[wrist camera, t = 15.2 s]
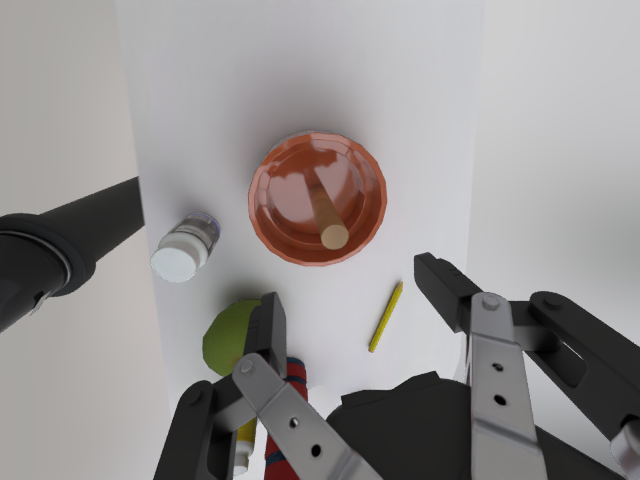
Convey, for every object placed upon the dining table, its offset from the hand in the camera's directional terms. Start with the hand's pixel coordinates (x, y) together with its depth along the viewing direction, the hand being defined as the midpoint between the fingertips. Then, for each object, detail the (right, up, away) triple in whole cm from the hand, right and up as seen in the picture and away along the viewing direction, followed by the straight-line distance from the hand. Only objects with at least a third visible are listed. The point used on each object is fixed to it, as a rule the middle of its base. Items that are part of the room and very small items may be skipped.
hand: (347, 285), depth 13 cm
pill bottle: (-17, +4, +16) cm, 24 cm away
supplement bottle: (-17, -33, +36) cm, 52 cm away
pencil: (+10, -11, +28) cm, 32 cm away
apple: (-12, -8, +24) cm, 28 cm away
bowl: (-2, +9, +16) cm, 18 cm away
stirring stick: (-2, +8, +15) cm, 18 cm away
